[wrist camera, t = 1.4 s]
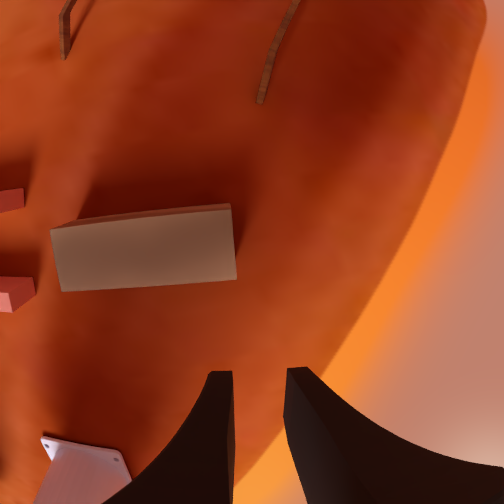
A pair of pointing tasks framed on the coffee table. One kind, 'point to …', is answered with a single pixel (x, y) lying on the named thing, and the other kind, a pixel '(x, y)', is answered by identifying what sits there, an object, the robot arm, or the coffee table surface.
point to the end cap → (14, 288)
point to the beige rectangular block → (146, 248)
